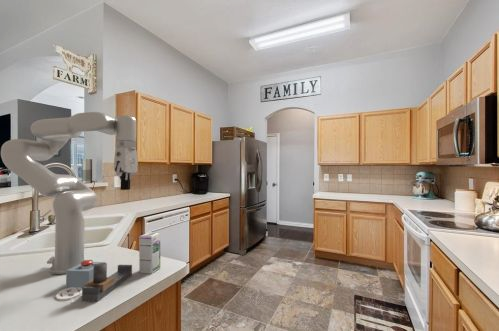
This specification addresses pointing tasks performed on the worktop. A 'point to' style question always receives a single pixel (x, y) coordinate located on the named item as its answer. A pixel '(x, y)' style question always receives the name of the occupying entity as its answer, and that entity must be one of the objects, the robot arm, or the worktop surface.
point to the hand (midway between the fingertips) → (125, 189)
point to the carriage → (100, 277)
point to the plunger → (86, 264)
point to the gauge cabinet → (79, 276)
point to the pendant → (66, 295)
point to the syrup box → (149, 252)
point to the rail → (119, 277)
